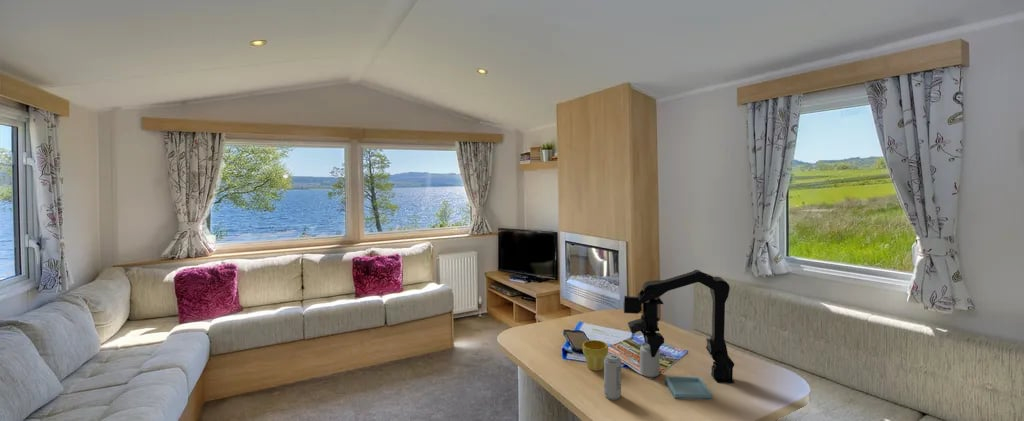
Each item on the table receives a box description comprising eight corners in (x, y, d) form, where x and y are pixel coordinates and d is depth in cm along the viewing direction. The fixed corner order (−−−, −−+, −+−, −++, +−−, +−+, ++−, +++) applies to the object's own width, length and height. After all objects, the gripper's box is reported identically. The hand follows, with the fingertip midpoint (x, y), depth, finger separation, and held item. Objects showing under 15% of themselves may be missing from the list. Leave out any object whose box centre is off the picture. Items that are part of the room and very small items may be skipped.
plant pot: (582, 361, 184) (582, 339, 183) (606, 362, 182) (606, 340, 181) (583, 372, 173) (582, 349, 173) (609, 373, 172) (609, 350, 171)
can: (660, 379, 167) (661, 349, 166) (640, 377, 168) (641, 348, 167) (658, 370, 174) (658, 341, 173) (639, 368, 175) (639, 340, 174)
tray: (699, 381, 164) (699, 377, 164) (712, 399, 151) (712, 394, 151) (664, 380, 165) (664, 376, 165) (674, 398, 152) (674, 393, 152)
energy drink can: (606, 390, 159) (607, 351, 157) (623, 394, 156) (623, 354, 154) (601, 398, 154) (601, 357, 152) (618, 402, 151) (618, 361, 149)
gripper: (625, 306, 179) (625, 342, 180) (634, 322, 160) (634, 362, 162) (652, 306, 178) (652, 342, 179) (664, 322, 159) (664, 362, 161)
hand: (650, 352), depth 170 cm, fingers open, 9 cm apart
